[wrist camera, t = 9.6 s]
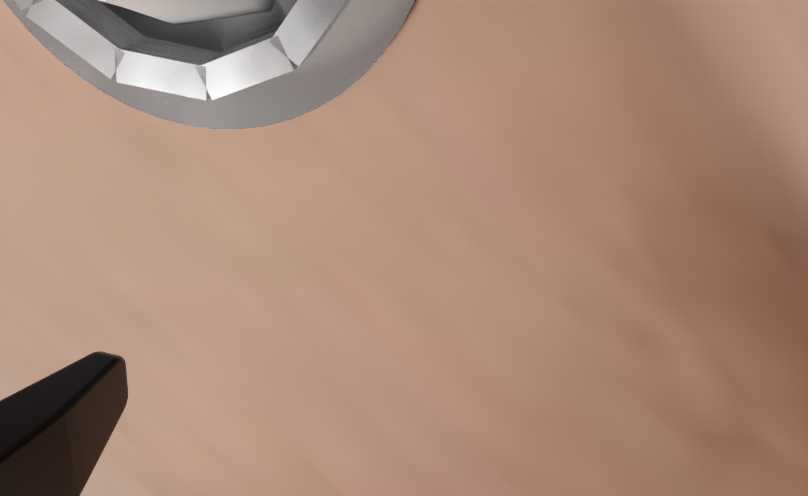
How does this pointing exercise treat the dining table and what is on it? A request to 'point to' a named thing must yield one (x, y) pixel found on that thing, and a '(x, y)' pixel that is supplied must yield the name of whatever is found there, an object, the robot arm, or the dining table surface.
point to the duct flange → (218, 56)
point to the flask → (194, 9)
